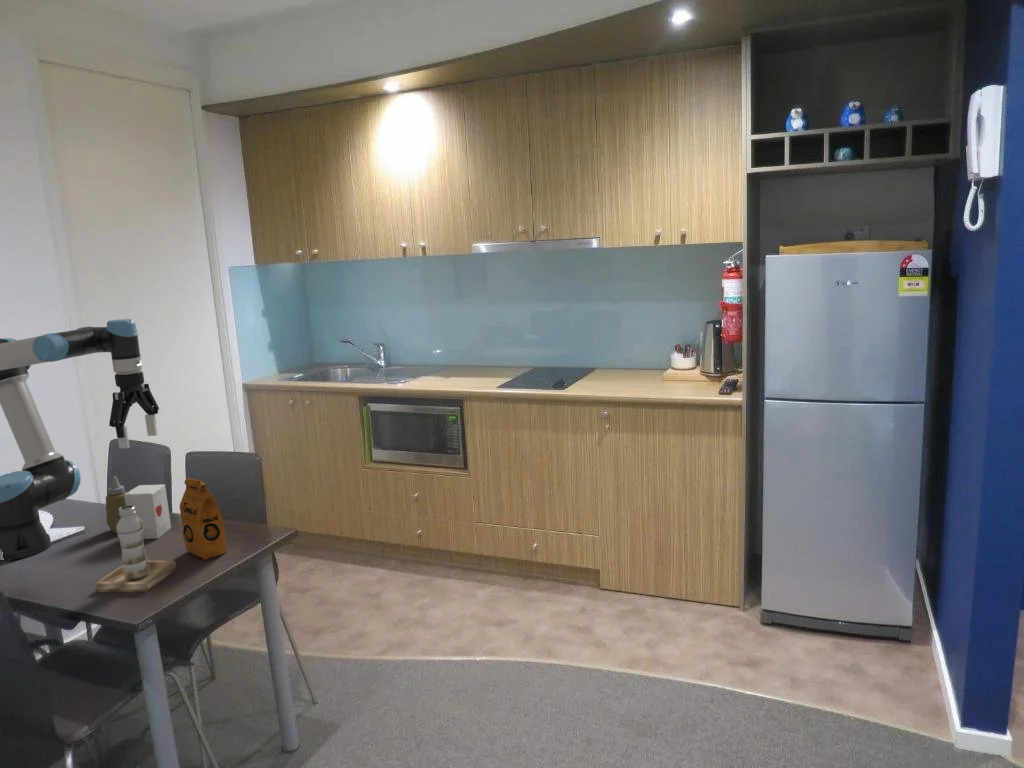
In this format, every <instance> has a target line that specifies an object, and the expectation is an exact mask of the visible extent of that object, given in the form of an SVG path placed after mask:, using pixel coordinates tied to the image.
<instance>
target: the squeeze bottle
mask: <svg viewBox="0 0 1024 768" xmlns="http://www.w3.org/2000/svg"><path fill="white" fill-rule="evenodd" d="M126 493H128V492H127V491H126V490H125V486H124V485H121V484H120V482H119V480H118V477H117V476H116V475H114V476H112V477H111V485H110V486H109V488H107V495H106V496H105V513H106V524H107V525H108V527H109V529H110V530H111V532H112V533H113V534H117V532H116V525H117V523H118V521H119V520H120V518H121V516H119V508H120V507H123V506H126V504H125V497H124V495H125V494H126Z"/></svg>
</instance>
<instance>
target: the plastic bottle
mask: <svg viewBox="0 0 1024 768" xmlns="http://www.w3.org/2000/svg"><path fill="white" fill-rule="evenodd" d="M135 513H136V511H135V507H134V506H133V505H127V506H123V507H120V508H119V516H121V518H120V520H119V521H118V523H117V525H116V532H117V533H116V535H117V537H118V540H119V544H120V549H121V558H122V559H121V561H122V563H121V565H122V573H123V576H124V577H125V578H126V579H129V580H133V579H138V578H142V577H144V576H146V575H147V574H148V572H149V562H148V560H149V559H148V558H147V554H146V550H145V545H144V544H145V543H144V542H145V541H144V539H143V522H142V520H141V519H140V518H139V517H138V516H136V515H135Z"/></svg>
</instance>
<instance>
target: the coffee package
mask: <svg viewBox="0 0 1024 768" xmlns="http://www.w3.org/2000/svg"><path fill="white" fill-rule="evenodd" d="M184 485H186V487H185V491H184V492H183V495H182V498H181V500H180V503H179V511H180V519H181V520H180V521H181V522H180V523H181V526H182V527H181V528H182V530H181V531H182V534H181V535H182V538H183V541H184V545H185V551H187V552H189V553H191V554H193V555H195V557H196V556H197V557H199V558H201V559H203V560H204V561H206V559H207V560H208V559H211V557H213V558H215V557H217V555H218V556H220V555H223V554H226V553H228V548H227V541H226V528H225V525H224V521H223V517H222V514H221V510H220V507H219V505H218V502H217V501H216V498H215V497H214V495H213V494H212V493H211V491H210V489H209V488H208V486H207V485H206V484H205V483H204V482H203V481H201V480H198V479H194V478H189V477H188V478H186V479H185V480H184Z"/></svg>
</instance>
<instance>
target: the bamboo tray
mask: <svg viewBox="0 0 1024 768" xmlns="http://www.w3.org/2000/svg"><path fill="white" fill-rule="evenodd" d="M148 562H149V572H148V574H147V575H146V576H144V577H142V578H138V579H133V580H129V579H126V578H125V577H124V576H123V573H122V564H121V565H120V566H118V567H117V568H115V569H114V570H112V571H111V572H109V573H108V574H107V575H105V576H104V577H103V578H101V579H99V580H98V581H97V582H95V585H94V586H95V590H96V593H138V594H139V593H140V594H141V593H142V594H143V593H144V594H146V593H147V592H148V591H150V590H151V589H153V588H154V587H155V586H156V585H158V584H159V583H161V582H162V581H163V580H164V579H165V578H166V577H168V576H169V575H170V574H172V573H173V572H174V571H176V570H177V565H176V564H177V563H176V560H149V559H148Z"/></svg>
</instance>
